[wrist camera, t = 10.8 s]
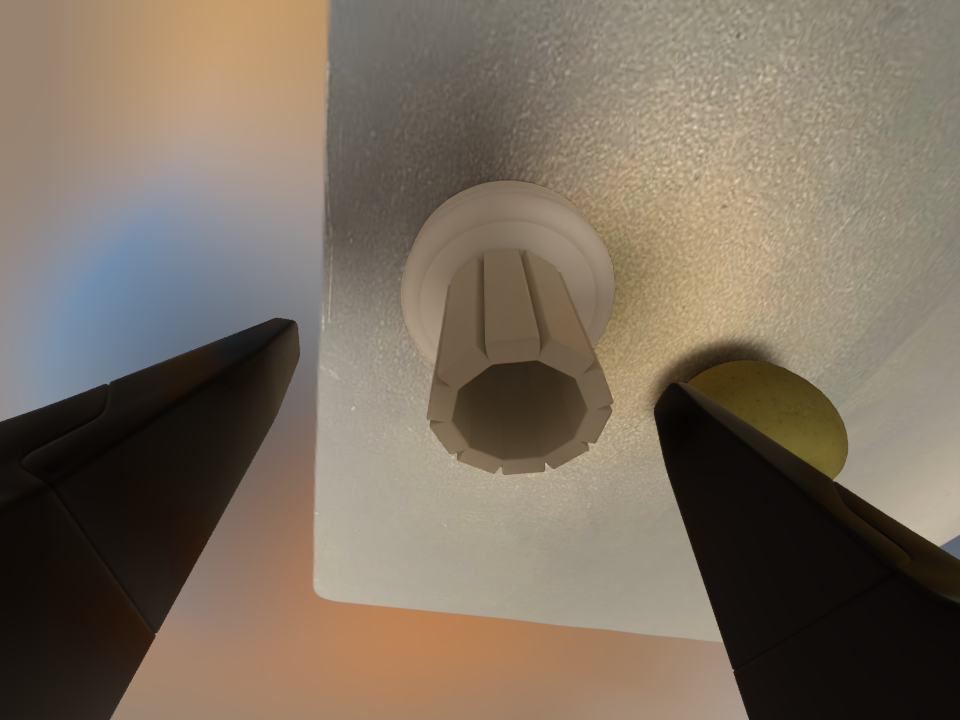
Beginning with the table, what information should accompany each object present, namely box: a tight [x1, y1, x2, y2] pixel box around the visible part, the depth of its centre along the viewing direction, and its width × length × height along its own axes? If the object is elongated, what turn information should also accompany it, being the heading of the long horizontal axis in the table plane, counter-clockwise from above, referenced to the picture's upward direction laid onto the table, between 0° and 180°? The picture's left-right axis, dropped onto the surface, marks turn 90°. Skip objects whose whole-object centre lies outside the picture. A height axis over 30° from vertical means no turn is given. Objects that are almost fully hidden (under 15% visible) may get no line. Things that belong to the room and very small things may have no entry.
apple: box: [687, 360, 848, 480], centre depth 22 cm, size 8×8×7 cm
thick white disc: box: [400, 181, 615, 366], centre depth 19 cm, size 10×10×4 cm
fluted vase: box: [427, 249, 614, 475], centre depth 15 cm, size 6×6×7 cm
